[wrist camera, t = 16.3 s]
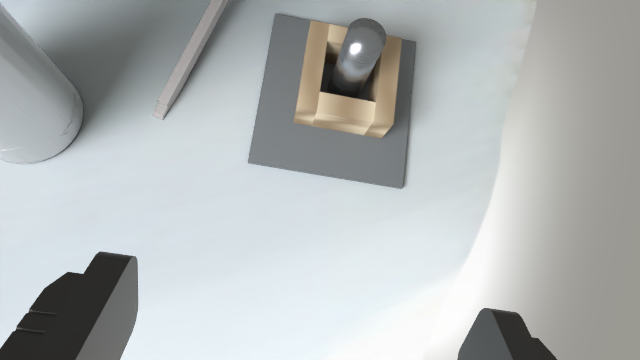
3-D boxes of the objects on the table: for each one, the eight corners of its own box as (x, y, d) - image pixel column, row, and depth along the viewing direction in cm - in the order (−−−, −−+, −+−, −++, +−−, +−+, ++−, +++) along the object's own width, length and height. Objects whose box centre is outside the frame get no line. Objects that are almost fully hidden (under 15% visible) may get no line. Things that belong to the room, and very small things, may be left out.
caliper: (252, -42, 48) (251, -89, 42) (261, -37, 48) (262, -84, 42) (153, 116, 43) (136, 88, 37) (164, 121, 43) (148, 94, 37)
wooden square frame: (293, 122, 44) (296, 106, 40) (306, 42, 46) (310, 20, 42) (381, 138, 44) (393, 124, 41) (389, 59, 47) (401, 38, 43)
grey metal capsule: (325, 102, 45) (344, 50, 35) (329, 73, 45) (349, 14, 36) (356, 107, 45) (384, 58, 35) (360, 79, 46) (388, 22, 36)
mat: (248, 162, 43) (247, 161, 42) (275, 16, 47) (275, 13, 46) (401, 188, 44) (402, 187, 44) (414, 44, 48) (416, 41, 48)
